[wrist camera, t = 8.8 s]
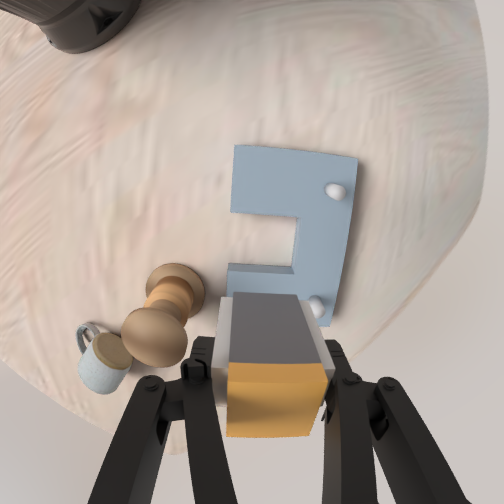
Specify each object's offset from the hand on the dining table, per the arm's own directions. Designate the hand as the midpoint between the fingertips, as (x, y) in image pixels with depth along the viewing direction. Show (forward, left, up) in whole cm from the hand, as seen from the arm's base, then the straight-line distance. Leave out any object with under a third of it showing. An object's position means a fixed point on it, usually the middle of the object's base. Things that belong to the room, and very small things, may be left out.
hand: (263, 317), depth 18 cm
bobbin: (+8, -10, -18) cm, 22 cm away
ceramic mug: (+20, -23, -18) cm, 35 cm away
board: (0, +4, -18) cm, 18 cm away
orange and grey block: (0, 0, 0) cm, 1 cm away
